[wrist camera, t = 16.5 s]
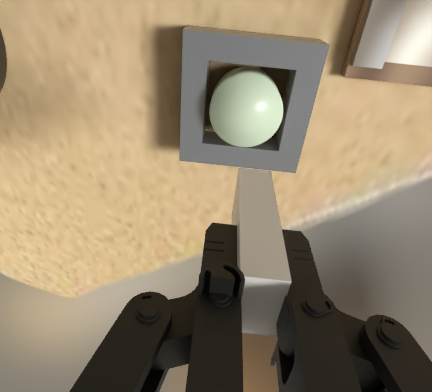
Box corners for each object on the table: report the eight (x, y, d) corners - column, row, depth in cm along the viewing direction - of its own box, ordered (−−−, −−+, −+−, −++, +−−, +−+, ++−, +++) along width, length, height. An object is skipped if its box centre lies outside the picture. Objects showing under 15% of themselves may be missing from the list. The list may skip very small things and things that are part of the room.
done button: (209, 130, 30) (206, 143, 27) (214, 63, 26) (212, 71, 24) (272, 137, 30) (275, 150, 27) (285, 70, 26) (290, 79, 24)
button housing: (183, 147, 32) (179, 160, 29) (188, 25, 26) (182, 29, 23) (291, 158, 32) (295, 172, 29) (320, 39, 26) (329, 44, 23)
